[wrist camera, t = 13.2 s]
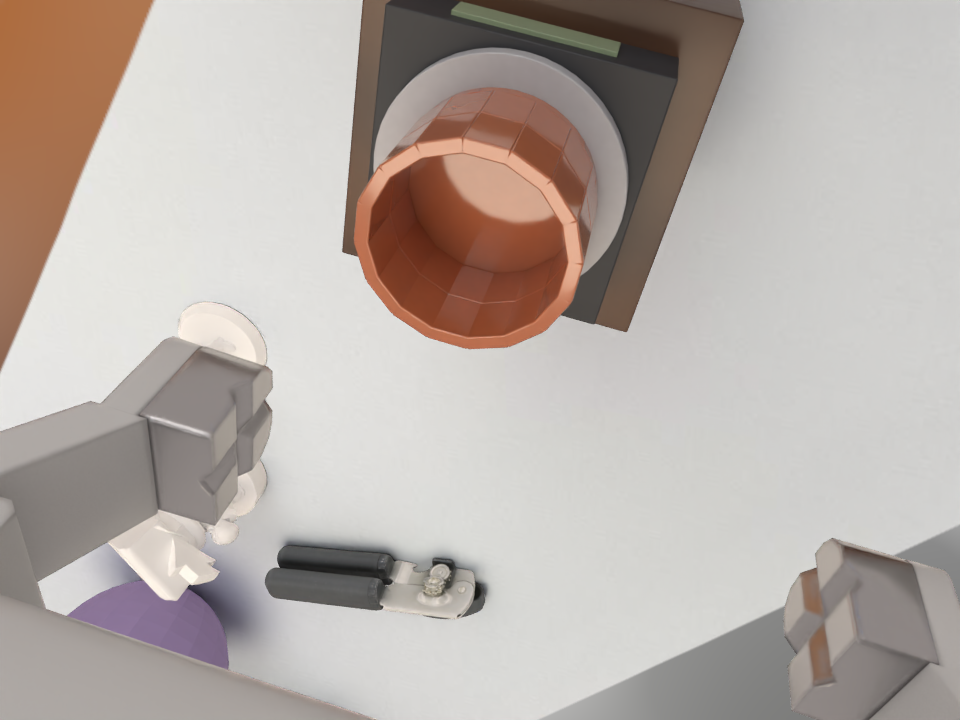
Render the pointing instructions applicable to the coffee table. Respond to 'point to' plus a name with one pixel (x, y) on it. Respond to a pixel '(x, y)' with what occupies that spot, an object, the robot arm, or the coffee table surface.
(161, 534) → the character figurine
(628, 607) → the coffee table surface
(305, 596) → the can opener
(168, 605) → the purple ovoid
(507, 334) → the bowl
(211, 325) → the figurine
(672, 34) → the wooden block
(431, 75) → the scale
